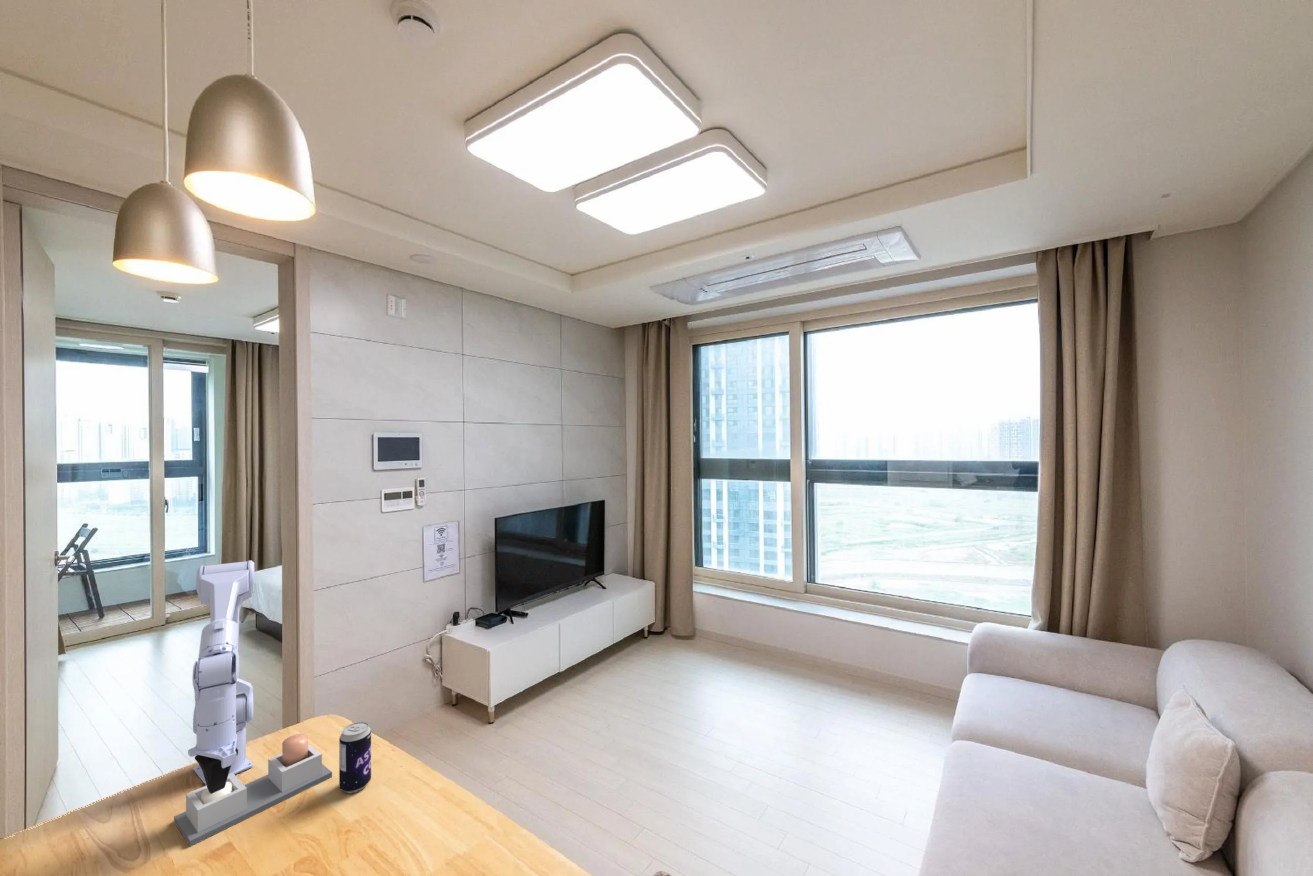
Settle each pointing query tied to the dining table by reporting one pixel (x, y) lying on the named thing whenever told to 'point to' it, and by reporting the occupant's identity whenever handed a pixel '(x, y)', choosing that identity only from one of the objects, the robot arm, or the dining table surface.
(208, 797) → the cream plug
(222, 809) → the plug panel
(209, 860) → the dining table surface
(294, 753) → the terracotta plug
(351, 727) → the beverage can
